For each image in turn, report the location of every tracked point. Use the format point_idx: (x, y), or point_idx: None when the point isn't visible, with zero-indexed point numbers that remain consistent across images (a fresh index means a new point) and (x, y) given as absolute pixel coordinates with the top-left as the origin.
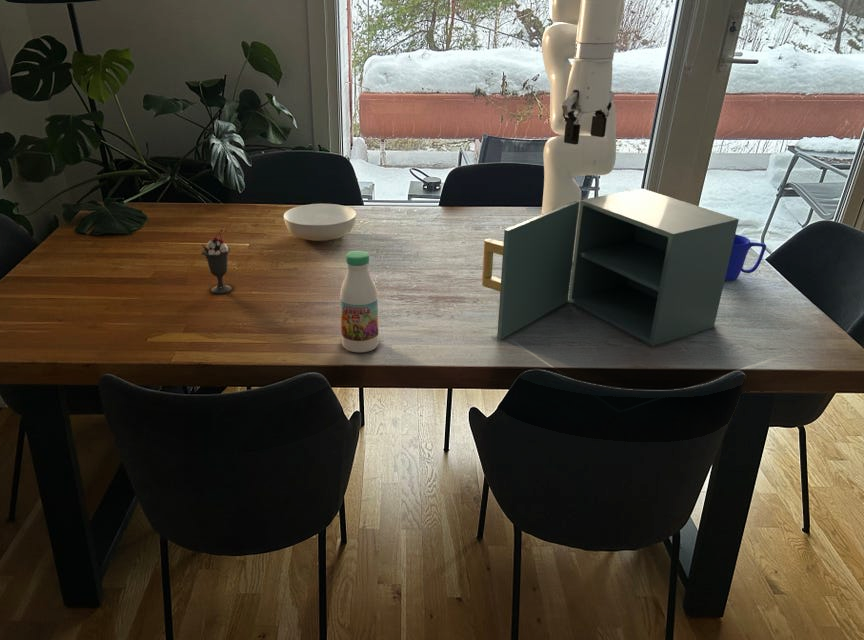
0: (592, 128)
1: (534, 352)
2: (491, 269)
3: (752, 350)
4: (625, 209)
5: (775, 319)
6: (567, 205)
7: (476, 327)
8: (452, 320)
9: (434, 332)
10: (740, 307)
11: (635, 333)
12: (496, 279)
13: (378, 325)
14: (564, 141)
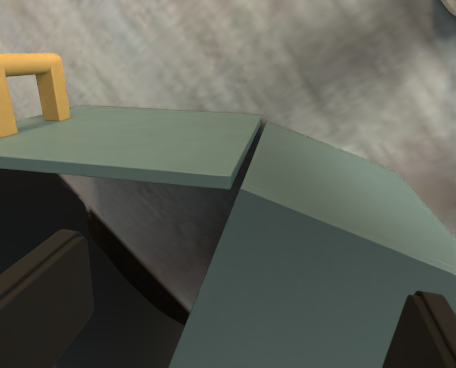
0: (425, 344)
1: None
2: (31, 74)
3: None
4: (236, 313)
5: None
6: (170, 178)
7: (85, 57)
8: (73, 7)
9: (25, 14)
10: None
11: (216, 247)
12: (45, 88)
13: None
14: (62, 233)
